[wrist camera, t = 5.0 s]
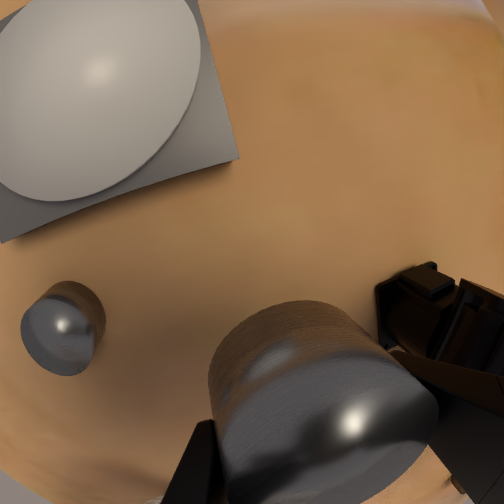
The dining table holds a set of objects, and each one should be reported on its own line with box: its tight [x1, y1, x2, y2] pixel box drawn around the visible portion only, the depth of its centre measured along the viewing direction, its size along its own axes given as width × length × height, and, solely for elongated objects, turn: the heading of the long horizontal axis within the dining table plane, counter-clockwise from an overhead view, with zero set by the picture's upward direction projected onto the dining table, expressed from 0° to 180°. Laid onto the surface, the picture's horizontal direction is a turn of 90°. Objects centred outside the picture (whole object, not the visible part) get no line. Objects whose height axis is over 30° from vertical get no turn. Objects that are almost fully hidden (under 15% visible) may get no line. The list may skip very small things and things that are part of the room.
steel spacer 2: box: [208, 300, 439, 504], centre depth 7 cm, size 5×5×4 cm
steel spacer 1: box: [21, 281, 106, 376], centre depth 17 cm, size 5×5×4 cm
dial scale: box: [0, 0, 240, 244], centre depth 13 cm, size 15×16×4 cm
